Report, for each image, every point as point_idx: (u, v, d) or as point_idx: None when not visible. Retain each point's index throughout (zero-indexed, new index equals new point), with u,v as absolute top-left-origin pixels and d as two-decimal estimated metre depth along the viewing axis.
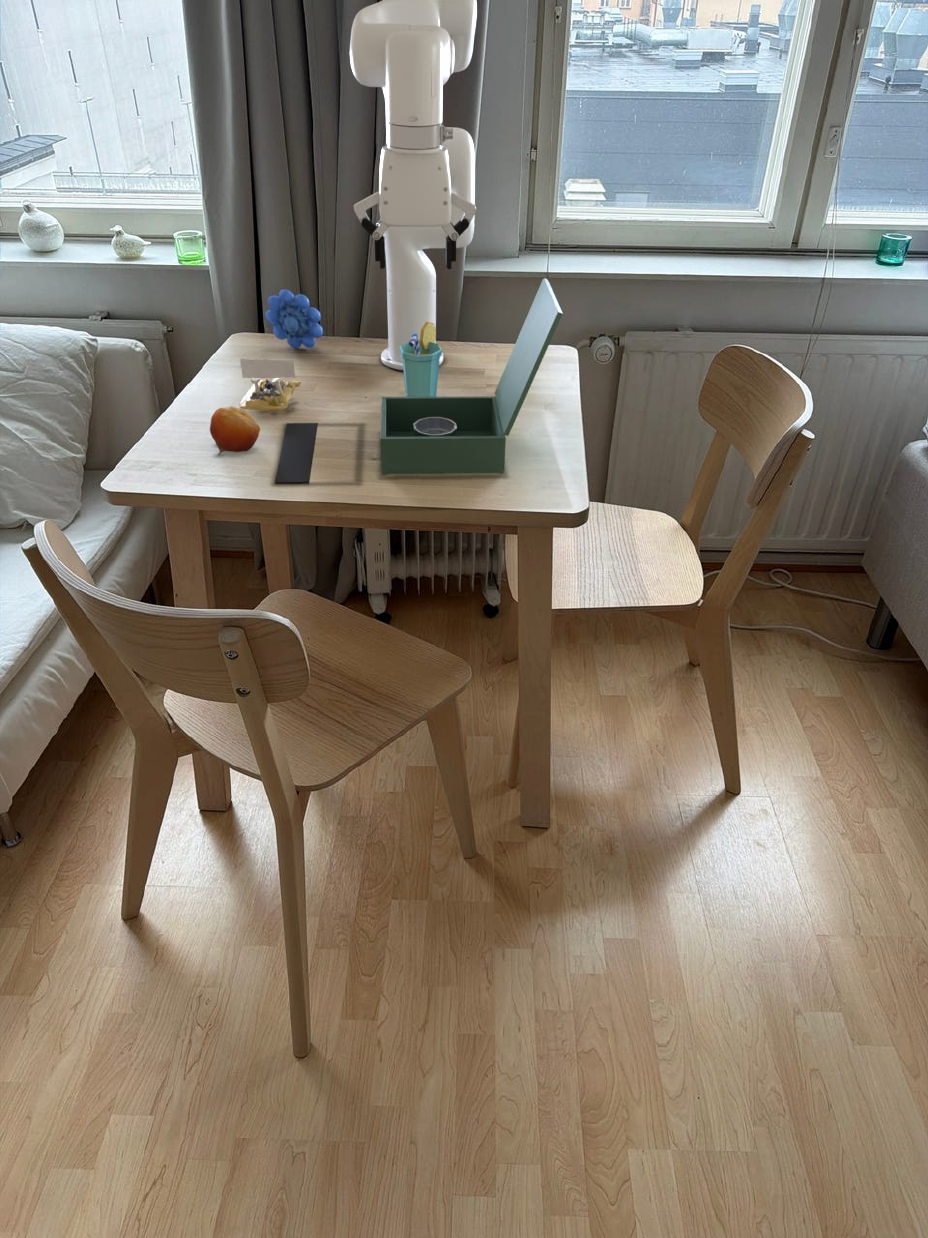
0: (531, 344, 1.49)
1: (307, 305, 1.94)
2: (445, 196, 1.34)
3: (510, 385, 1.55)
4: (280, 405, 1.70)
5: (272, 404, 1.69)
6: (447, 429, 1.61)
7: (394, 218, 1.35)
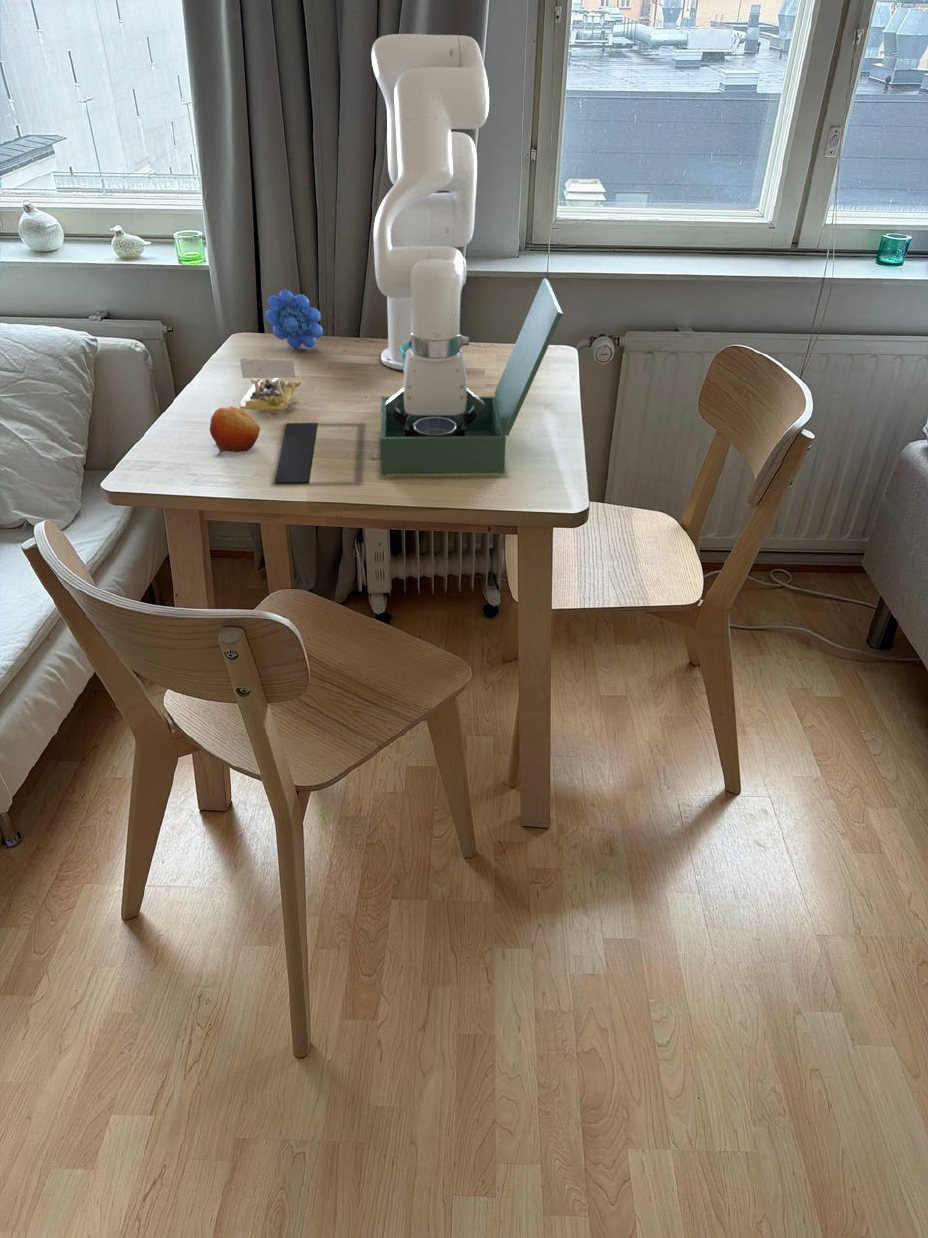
0: (531, 344, 1.49)
1: (307, 305, 1.94)
2: (461, 392, 1.53)
3: (510, 385, 1.55)
4: (280, 405, 1.70)
5: (272, 404, 1.69)
6: (447, 429, 1.61)
7: (417, 410, 1.54)
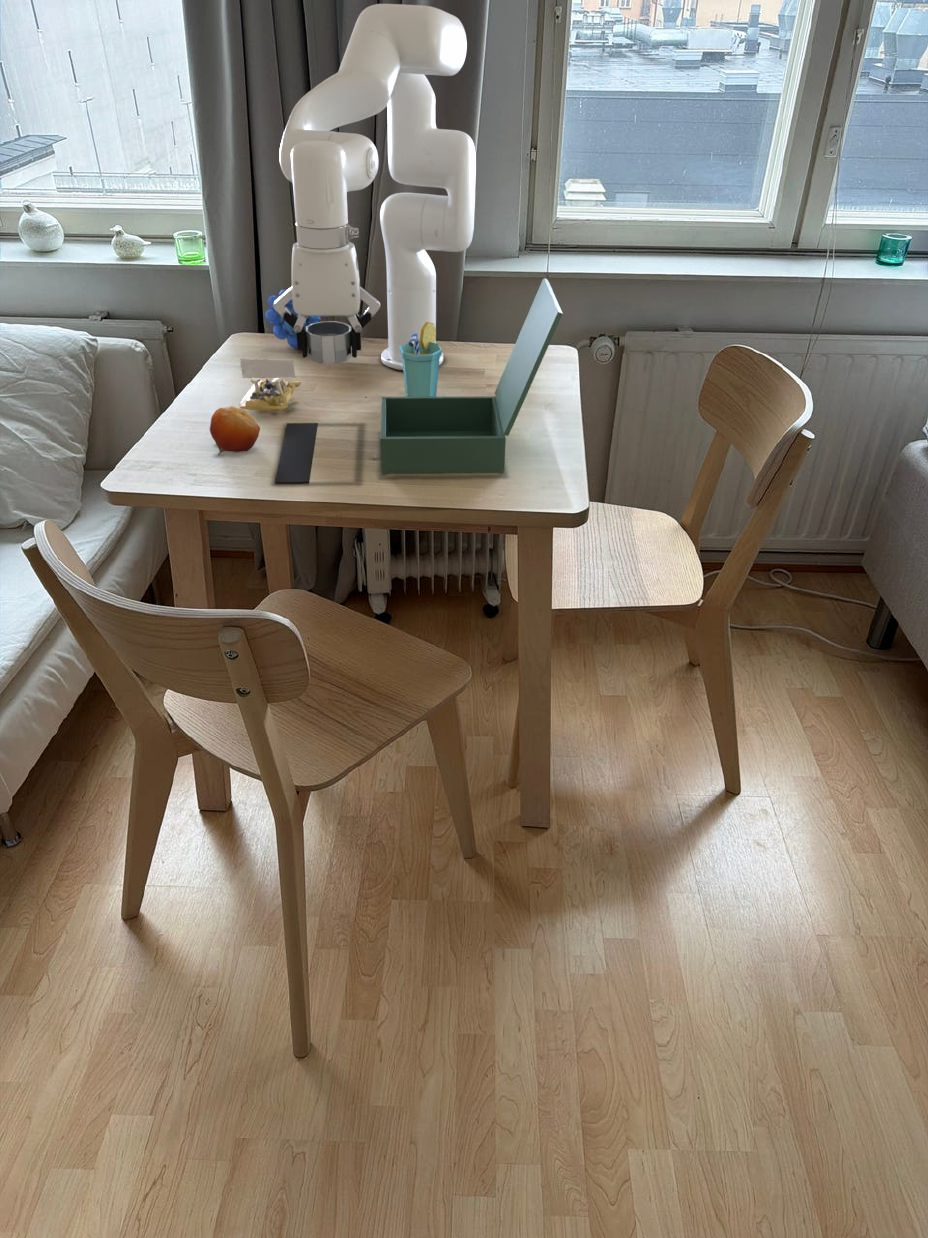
0: (531, 344, 1.49)
1: None
2: (353, 289, 1.43)
3: (510, 385, 1.55)
4: (280, 405, 1.70)
5: (272, 404, 1.69)
6: (344, 334, 1.51)
7: (306, 309, 1.44)
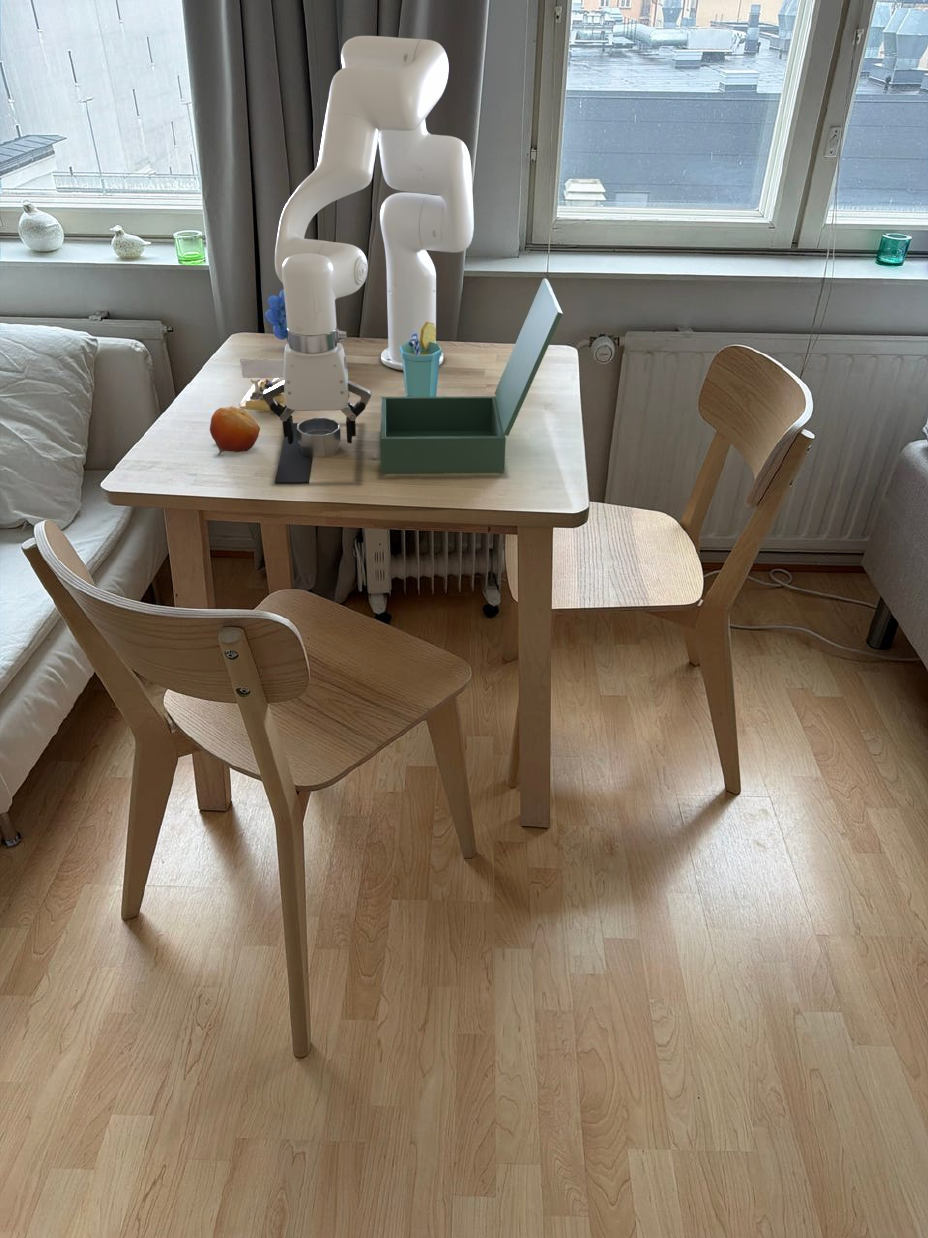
0: (531, 344, 1.49)
1: None
2: (341, 387, 1.52)
3: (510, 385, 1.55)
4: None
5: None
6: (333, 429, 1.61)
7: (298, 405, 1.53)
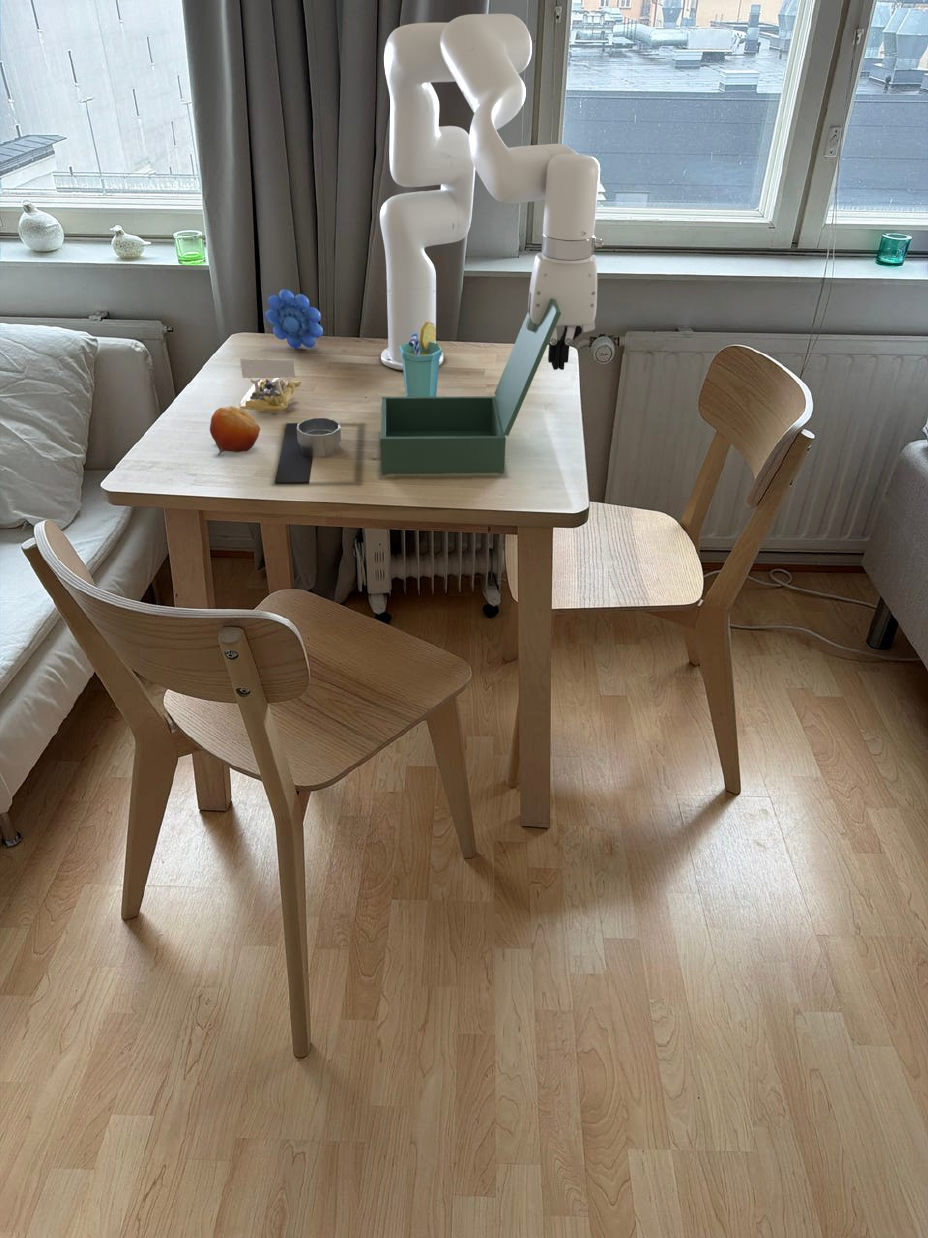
0: (530, 344, 1.49)
1: (307, 305, 1.94)
2: (592, 299, 1.45)
3: (510, 385, 1.55)
4: (280, 405, 1.70)
5: (272, 404, 1.69)
6: (333, 429, 1.61)
7: None
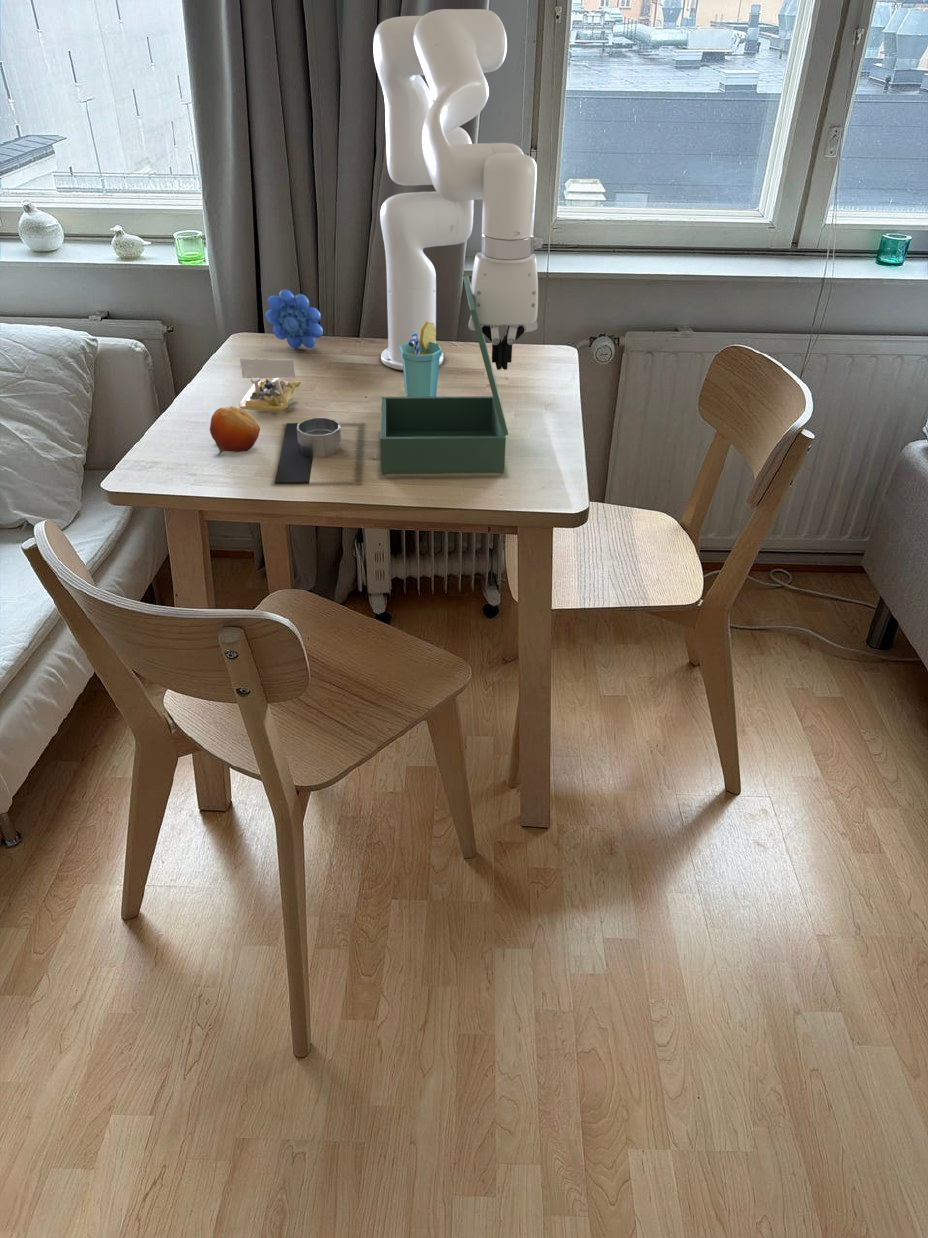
0: None
1: (307, 305, 1.94)
2: (533, 299, 1.45)
3: None
4: (280, 405, 1.70)
5: (272, 404, 1.69)
6: (333, 429, 1.61)
7: (485, 318, 1.46)
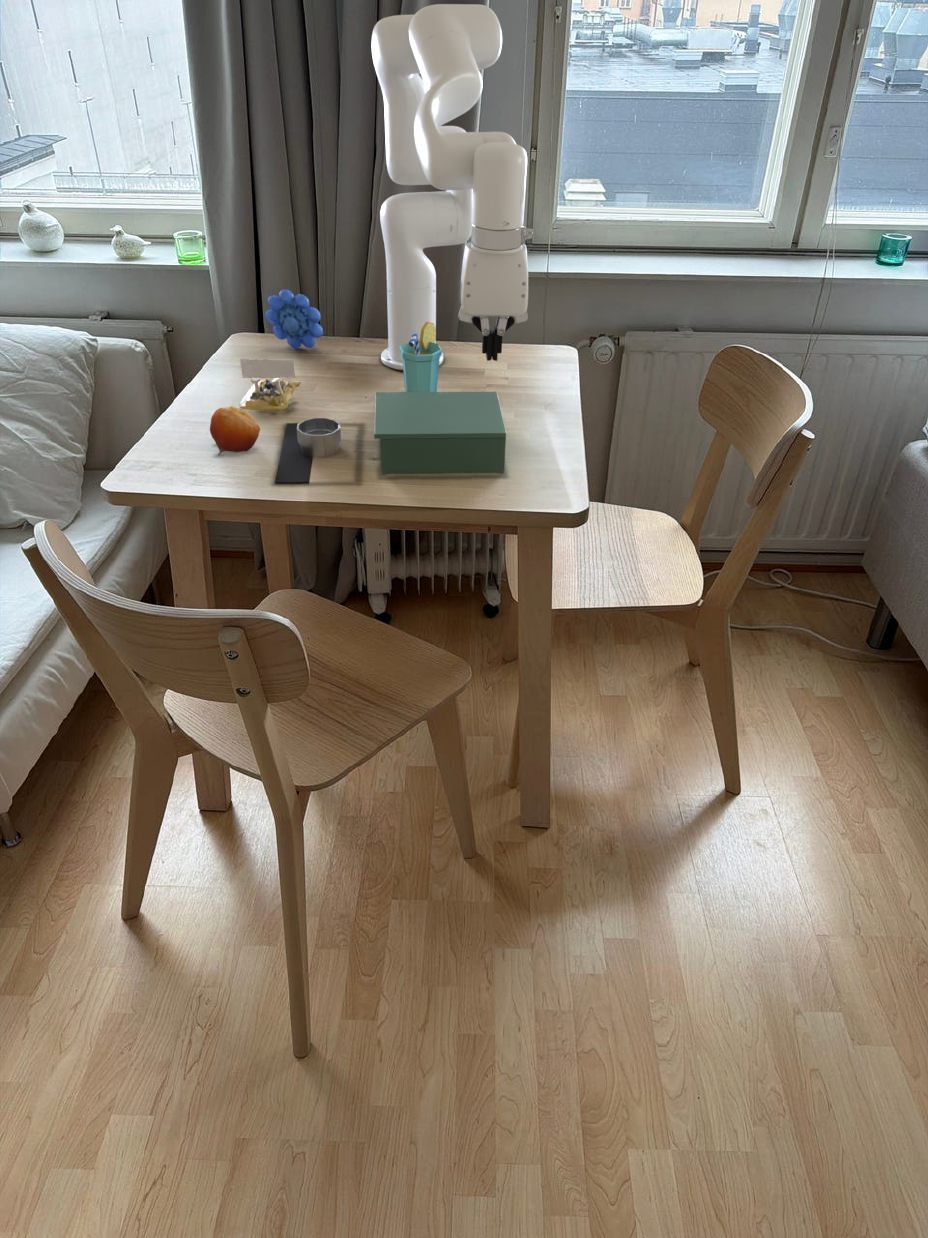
0: None
1: (307, 305, 1.94)
2: (523, 290, 1.44)
3: None
4: (280, 405, 1.70)
5: (272, 404, 1.69)
6: (333, 429, 1.61)
7: (475, 309, 1.45)
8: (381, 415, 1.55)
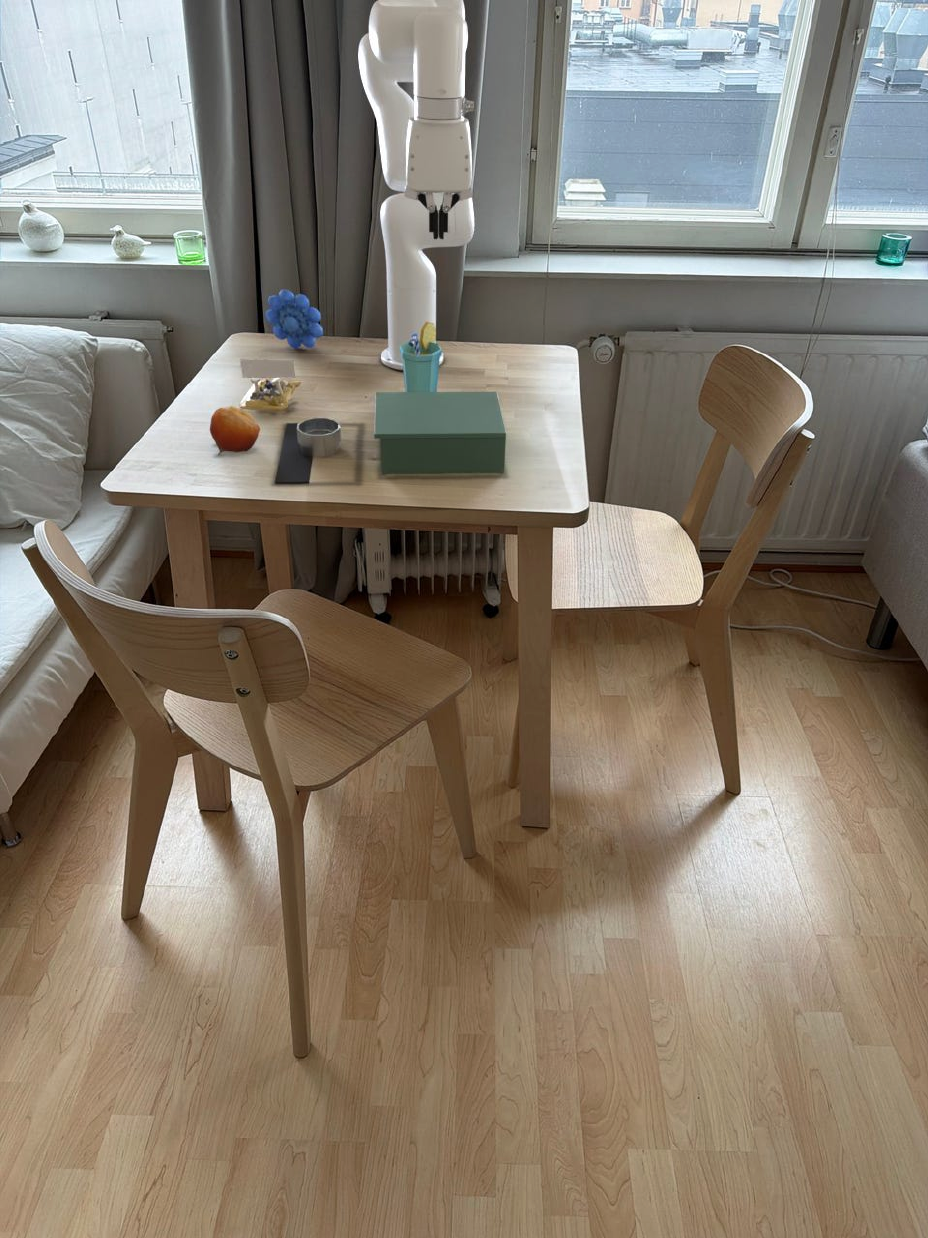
0: None
1: (307, 305, 1.94)
2: (466, 163, 1.47)
3: None
4: (280, 405, 1.70)
5: (272, 404, 1.69)
6: (333, 429, 1.61)
7: (420, 183, 1.48)
8: (381, 415, 1.55)
